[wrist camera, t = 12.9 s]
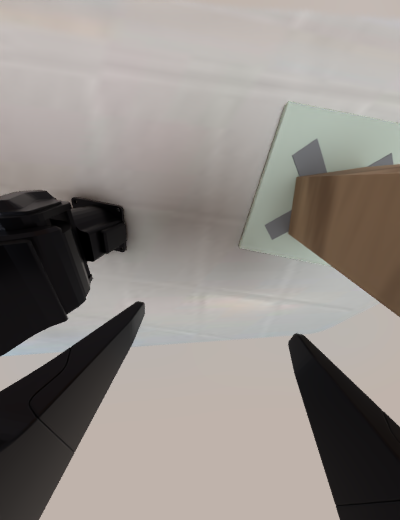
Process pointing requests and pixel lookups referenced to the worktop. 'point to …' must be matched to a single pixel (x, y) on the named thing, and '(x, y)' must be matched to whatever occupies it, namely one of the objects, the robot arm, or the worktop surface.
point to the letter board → (311, 169)
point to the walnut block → (354, 226)
